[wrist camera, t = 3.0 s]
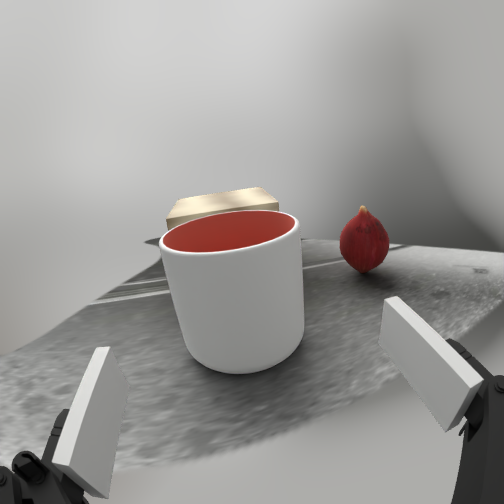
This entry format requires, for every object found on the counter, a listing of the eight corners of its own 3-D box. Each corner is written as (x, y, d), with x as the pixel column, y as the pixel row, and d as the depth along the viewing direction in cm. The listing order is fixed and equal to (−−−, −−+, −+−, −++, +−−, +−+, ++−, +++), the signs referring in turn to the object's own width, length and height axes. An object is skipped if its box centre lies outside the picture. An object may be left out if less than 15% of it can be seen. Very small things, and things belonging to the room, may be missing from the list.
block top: (175, 266, 29) (165, 218, 27) (185, 234, 39) (178, 199, 37) (282, 249, 30) (278, 201, 28) (264, 222, 40) (260, 187, 38)
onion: (395, 272, 32) (399, 206, 29) (366, 289, 29) (369, 216, 26) (360, 258, 36) (360, 198, 34) (329, 272, 34) (328, 207, 31)
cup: (325, 326, 24) (324, 214, 21) (254, 401, 18) (231, 267, 14) (240, 299, 31) (226, 207, 27) (166, 349, 24) (133, 242, 20)
